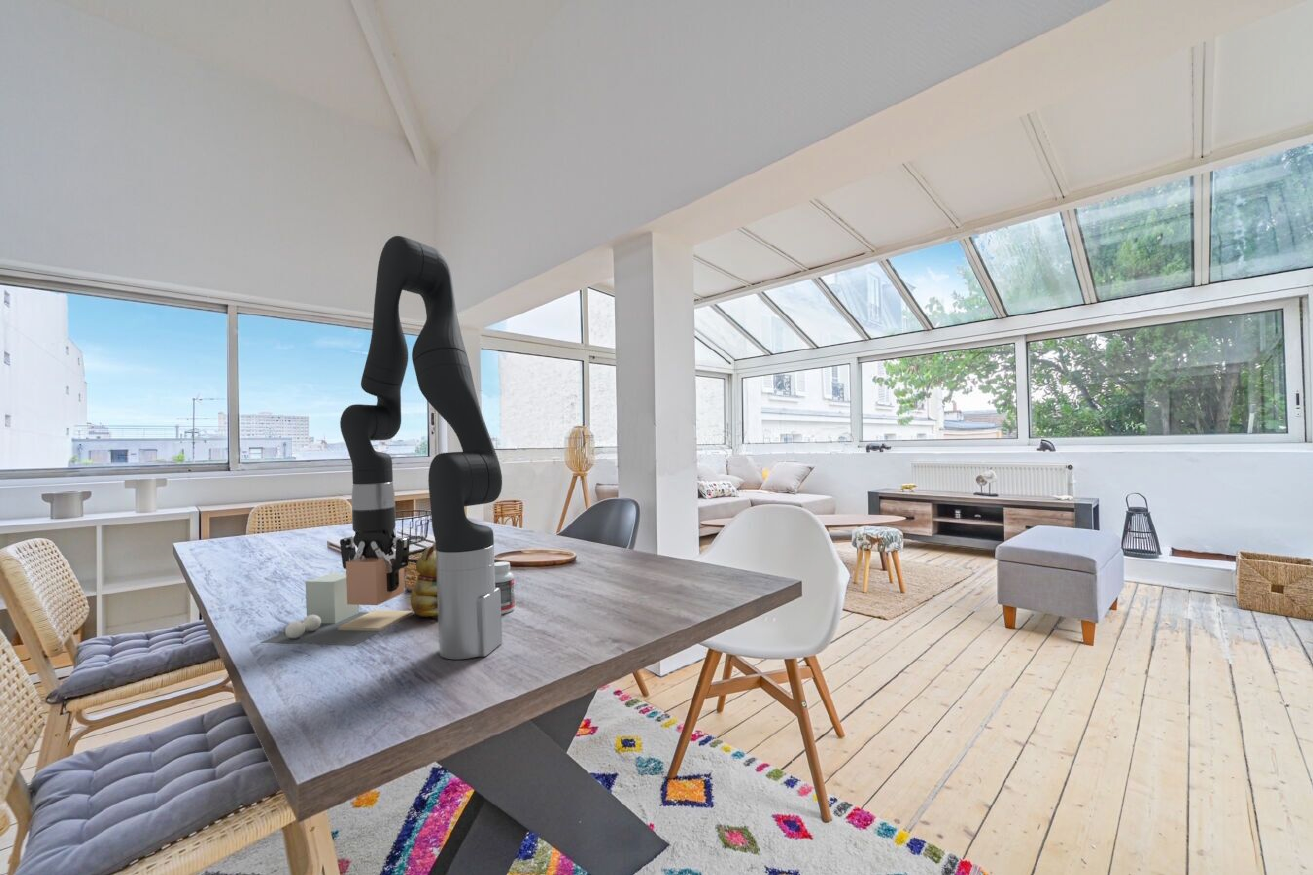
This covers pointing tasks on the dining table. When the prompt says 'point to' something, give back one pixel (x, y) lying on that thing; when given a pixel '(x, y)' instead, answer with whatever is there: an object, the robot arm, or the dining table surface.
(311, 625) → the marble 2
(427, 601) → the decorative figurine
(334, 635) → the mat
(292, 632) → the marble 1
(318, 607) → the pale green cube
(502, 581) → the pill bottle
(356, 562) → the clay brown brick
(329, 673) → the dining table surface
